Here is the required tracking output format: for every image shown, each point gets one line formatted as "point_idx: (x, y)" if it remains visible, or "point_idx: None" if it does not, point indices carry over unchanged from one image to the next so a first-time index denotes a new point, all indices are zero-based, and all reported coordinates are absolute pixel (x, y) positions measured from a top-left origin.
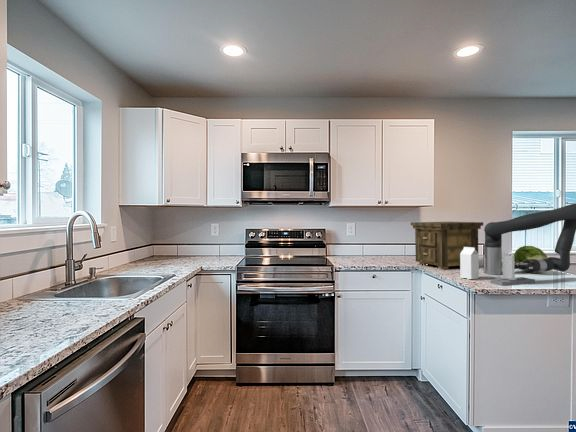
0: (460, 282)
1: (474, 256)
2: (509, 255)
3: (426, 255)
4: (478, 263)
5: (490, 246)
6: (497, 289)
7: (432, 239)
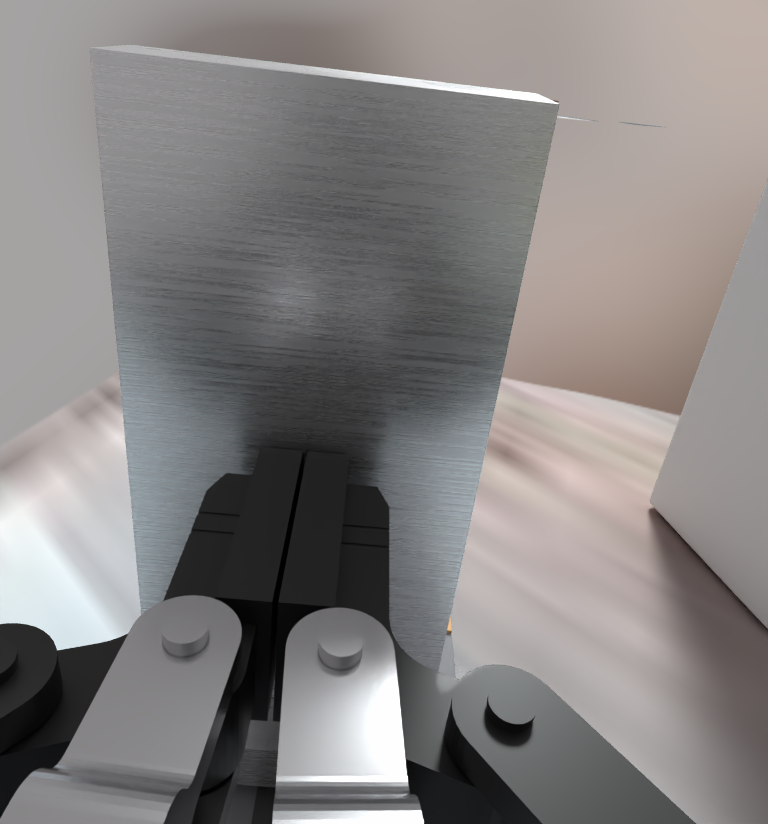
0: (519, 383)
1: None
2: (285, 67)
3: None
4: None
5: None
6: (109, 390)
7: None
